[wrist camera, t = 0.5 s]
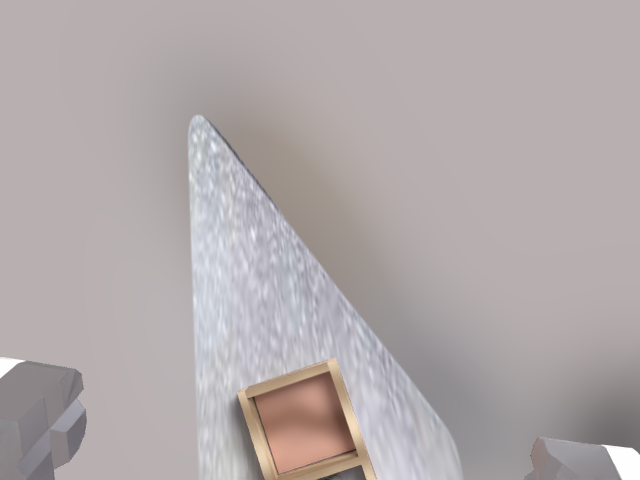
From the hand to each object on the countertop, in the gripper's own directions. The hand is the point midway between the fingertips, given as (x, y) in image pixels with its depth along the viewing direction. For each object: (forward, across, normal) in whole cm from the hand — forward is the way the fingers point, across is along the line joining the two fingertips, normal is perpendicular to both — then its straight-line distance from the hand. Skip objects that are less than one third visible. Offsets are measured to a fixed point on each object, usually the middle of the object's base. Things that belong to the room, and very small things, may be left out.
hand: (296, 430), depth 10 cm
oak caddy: (+38, -2, -36) cm, 52 cm away
